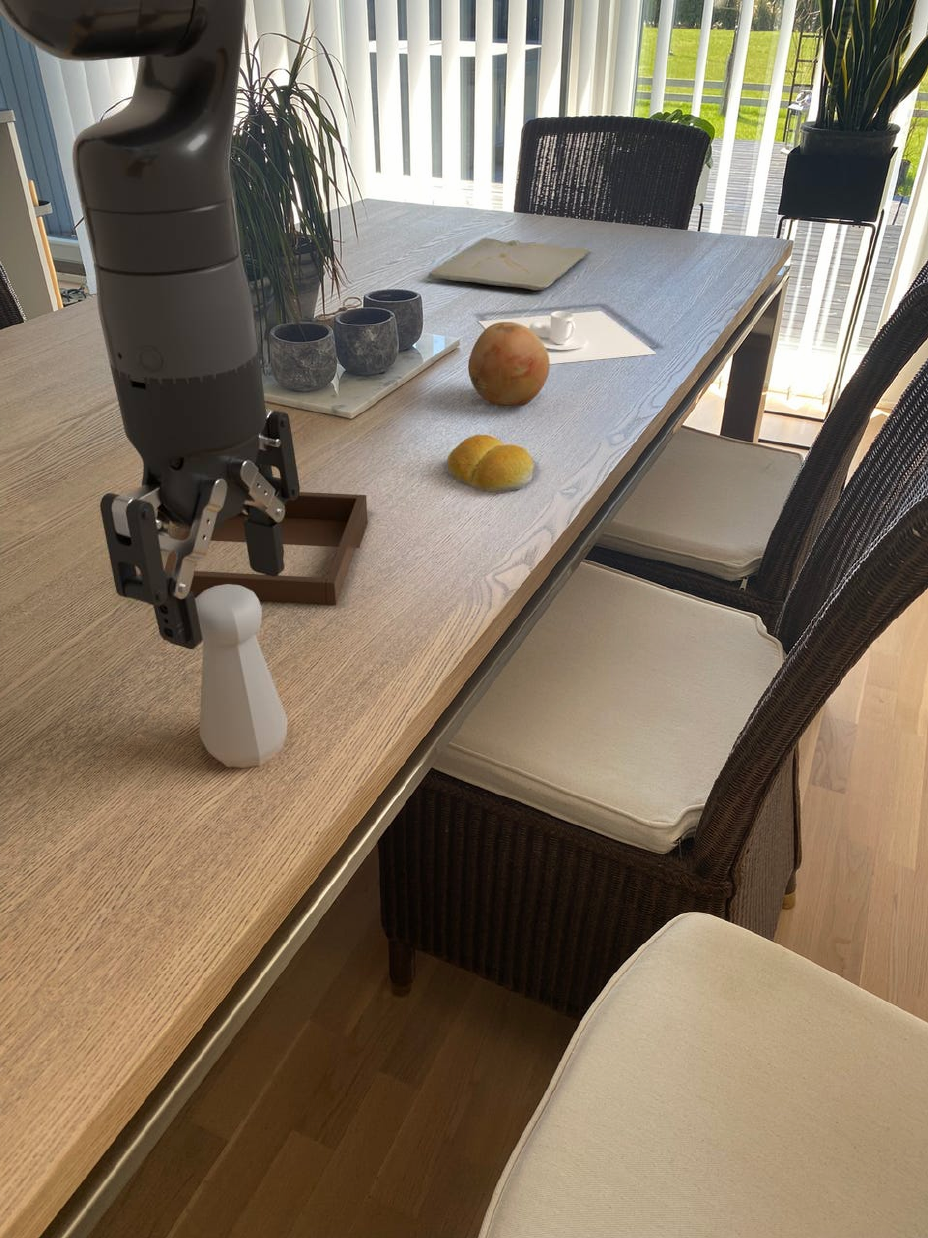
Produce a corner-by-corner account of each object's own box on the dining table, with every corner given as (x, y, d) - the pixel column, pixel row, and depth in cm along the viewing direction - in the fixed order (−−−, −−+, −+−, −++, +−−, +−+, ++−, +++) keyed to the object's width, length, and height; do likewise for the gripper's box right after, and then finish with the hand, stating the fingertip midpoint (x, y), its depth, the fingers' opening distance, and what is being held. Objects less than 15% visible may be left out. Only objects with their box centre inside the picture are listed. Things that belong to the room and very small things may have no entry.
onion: (564, 404, 117) (570, 323, 111) (508, 427, 111) (511, 342, 105) (507, 383, 122) (509, 305, 116) (451, 403, 116) (451, 322, 111)
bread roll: (505, 503, 95) (506, 467, 93) (435, 478, 100) (435, 443, 97) (550, 474, 101) (552, 439, 98) (482, 451, 105) (483, 418, 103)
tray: (154, 604, 80) (148, 573, 78) (210, 515, 93) (205, 487, 91) (337, 614, 79) (334, 583, 77) (367, 523, 92) (366, 494, 90)
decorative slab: (479, 246, 180) (480, 235, 179) (589, 256, 174) (590, 245, 173) (427, 283, 159) (427, 271, 158) (549, 297, 153) (550, 285, 152)
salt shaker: (192, 778, 63) (157, 618, 56) (223, 721, 68) (195, 567, 60) (276, 788, 62) (252, 628, 55) (302, 730, 67) (283, 575, 60)
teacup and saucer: (521, 334, 138) (523, 306, 135) (573, 330, 140) (575, 302, 137) (542, 355, 131) (544, 325, 128) (596, 350, 133) (598, 320, 130)
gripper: (209, 300, 56) (245, 540, 65) (24, 381, 45) (99, 654, 54) (318, 317, 53) (340, 564, 62) (150, 407, 42) (206, 688, 52)
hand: (228, 605), depth 58 cm, fingers open, 8 cm apart
